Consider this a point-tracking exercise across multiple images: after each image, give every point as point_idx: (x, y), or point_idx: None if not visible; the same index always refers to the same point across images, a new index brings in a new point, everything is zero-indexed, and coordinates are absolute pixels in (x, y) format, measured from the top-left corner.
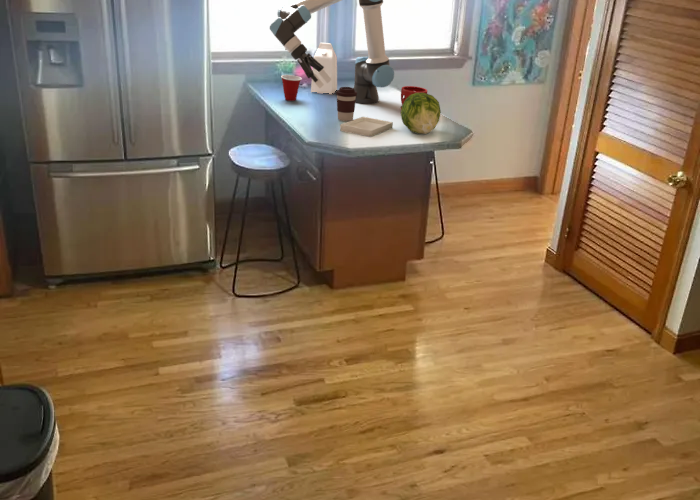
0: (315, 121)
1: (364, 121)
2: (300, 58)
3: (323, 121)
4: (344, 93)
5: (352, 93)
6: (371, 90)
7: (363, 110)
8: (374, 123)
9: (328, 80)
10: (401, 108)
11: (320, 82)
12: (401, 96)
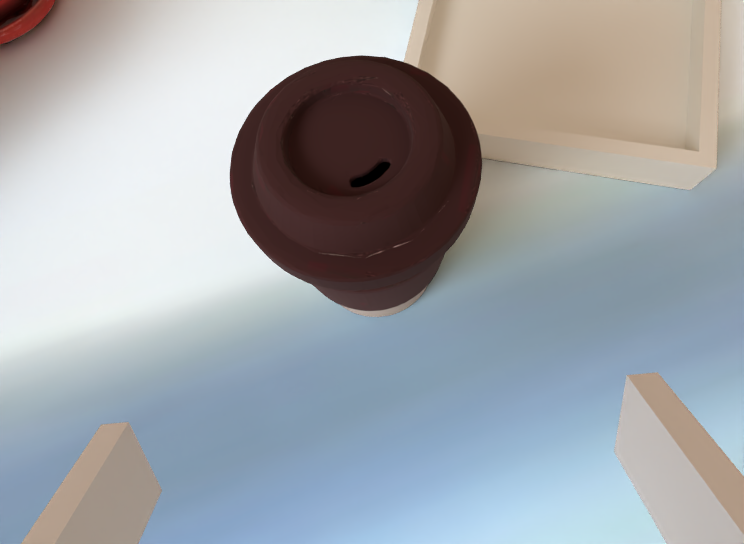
0: (557, 447)
1: None
2: None
3: (518, 388)
4: (471, 141)
5: (418, 73)
6: None
7: (57, 247)
8: (440, 49)
9: (136, 478)
10: (15, 25)
11: (699, 443)
12: None
